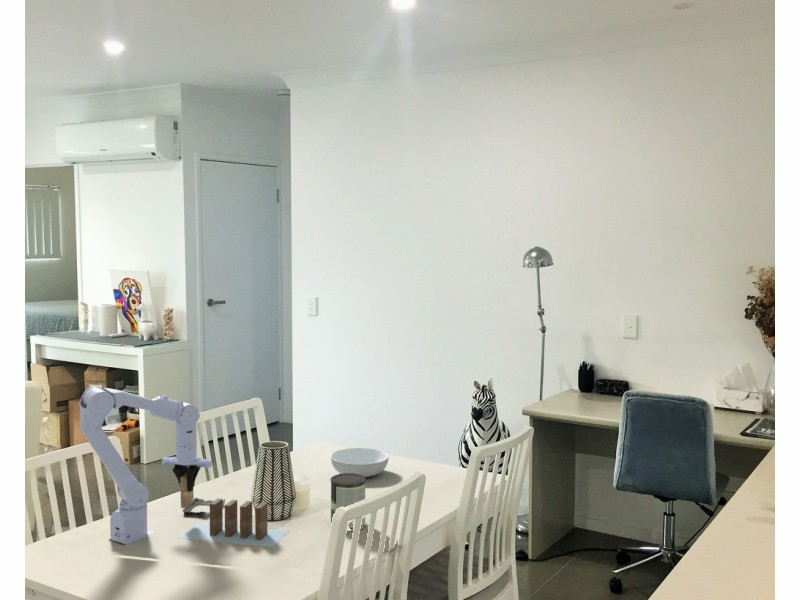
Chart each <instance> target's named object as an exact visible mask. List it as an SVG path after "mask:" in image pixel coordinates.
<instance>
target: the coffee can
mask: <svg viewBox="0 0 800 600" xmlns="http://www.w3.org/2000/svg"><path fill="white" fill-rule="evenodd" d="M366 481H367V477H364V476H362V475H360V474H353V473H344V474H341V473H339V474H335V475H333V476H331V477H330V523H331V522H332V517H333V514H334V513H335V511H336V509H337V508H339V507H342V506H343V507H346V506H348V505H351V504H354V503H356V502H359V501H361V500H364V499H365V500H366ZM352 522H354V521H352ZM352 522H350V523H349V525H348V526H349V528H350V529H351V531H350V532H353V531H352V530H353V523H352ZM364 524H365V525H366V516H365V517H364V518H363V519H362V525H361V529H362V530H363V528H362V526H364ZM361 529H360V530H361Z"/></svg>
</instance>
